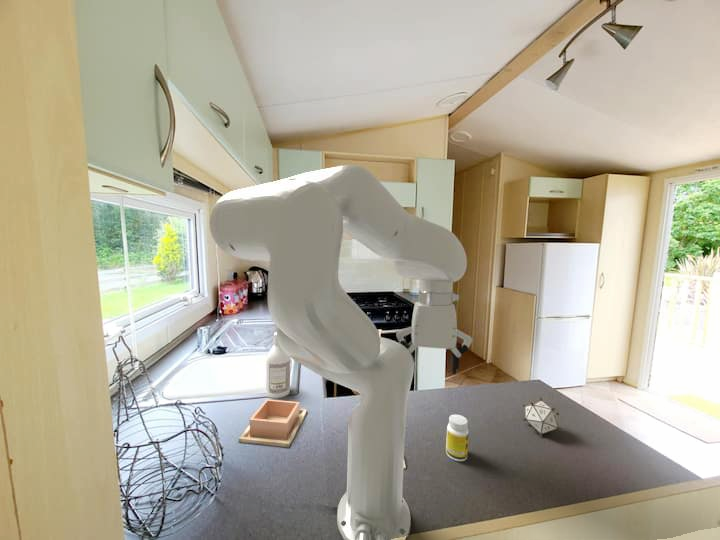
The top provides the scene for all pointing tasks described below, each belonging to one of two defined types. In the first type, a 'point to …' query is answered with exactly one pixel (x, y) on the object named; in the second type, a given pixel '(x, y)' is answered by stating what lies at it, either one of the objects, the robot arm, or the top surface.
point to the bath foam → (278, 371)
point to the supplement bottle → (457, 438)
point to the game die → (541, 417)
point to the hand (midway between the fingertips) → (432, 370)
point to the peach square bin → (274, 427)
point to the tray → (274, 441)
